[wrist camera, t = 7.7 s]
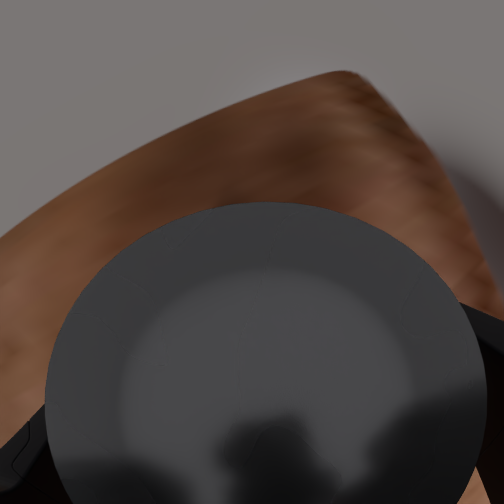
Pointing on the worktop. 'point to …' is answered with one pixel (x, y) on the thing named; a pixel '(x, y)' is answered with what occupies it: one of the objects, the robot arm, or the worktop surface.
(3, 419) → the worktop surface
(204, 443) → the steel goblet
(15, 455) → the robot arm
